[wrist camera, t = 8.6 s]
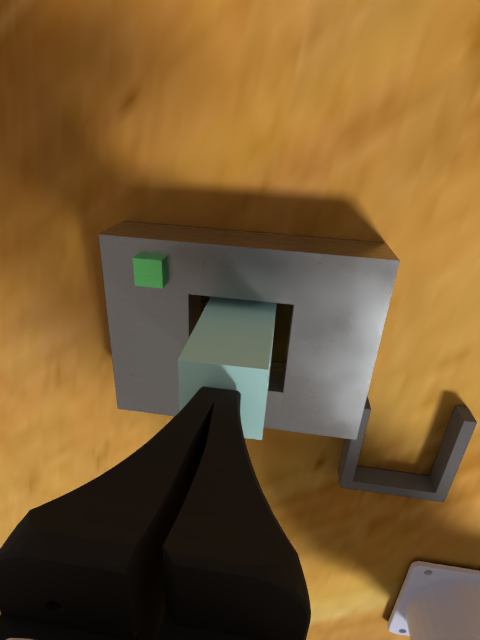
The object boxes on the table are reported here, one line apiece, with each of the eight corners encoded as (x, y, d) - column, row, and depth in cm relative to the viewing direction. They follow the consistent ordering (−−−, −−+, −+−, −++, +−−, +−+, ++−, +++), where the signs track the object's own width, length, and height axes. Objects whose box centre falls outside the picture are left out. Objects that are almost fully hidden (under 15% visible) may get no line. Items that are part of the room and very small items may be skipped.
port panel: (386, 242, 17) (402, 264, 14) (349, 405, 21) (357, 447, 18) (123, 221, 18) (92, 237, 16) (136, 379, 22) (113, 415, 20)
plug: (278, 289, 19) (268, 369, 13) (273, 343, 20) (262, 440, 14) (216, 284, 19) (177, 359, 13) (215, 337, 20) (180, 429, 14)
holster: (467, 407, 20) (477, 422, 19) (437, 484, 23) (444, 502, 22) (355, 393, 21) (358, 407, 20) (338, 470, 23) (340, 487, 22)
